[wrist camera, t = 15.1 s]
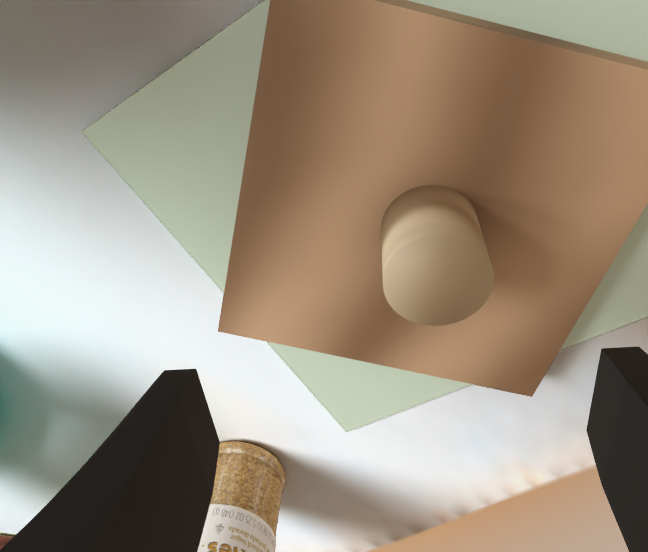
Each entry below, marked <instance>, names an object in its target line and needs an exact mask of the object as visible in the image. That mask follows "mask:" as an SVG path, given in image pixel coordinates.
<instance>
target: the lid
mask: <svg viewBox="0 0 648 552" xmlns="http://www.w3.org/2000/svg"><path fill="white" fill-rule="evenodd" d="M647 204H648V62H647V61H643V60H639V59H635V58H631V57H627V56H623V55H619V54H616V53H612V52H608V51H604V50H600V49H596V48H592V47H588V46H584V45H580V44H576V43H572V42H569V41H565V40H561V39H557V38H553V37H549V36H545V35H541V34H537V33H533V32H529V31H525V30H521V29H518V28H514V27H510V26H506V25H502V24H498V23H494V22H490V21H486V20H482V19H478V18H474V17H471V16H467V15H463V14H459V13H455V12H451V11H447V10H443V9H439V8H435V7H431V6H427V5H423V4H420V3H416V2H412V1H408V0H270V4H269V11H268V17H267V23H266V30H265V36H264V42H263V49H262V55H261V61H260V68H259V74H258V80H257V87H256V93H255V99H254V106H253V112H252V119H251V125H250V131H249V138H248V144H247V150H246V157H245V163H244V169H243V176H242V182H241V188H240V195H239V201H238V207H237V214H236V220H235V226H234V233H233V239H232V245H231V252H230V258H229V264H228V271H227V277H226V283H225V290H224V296H223V302H222V309H221V315H220V321H219V328H218V331H219V332H224V333H229V334H234V335H238V336H243V337H248V338H253V339H258V340H262V341H267V342H272V343H277V344H282V345H286V346H291V347H296V348H301V349H306V350H310V351H315V352H320V353H325V354H330V355H334V356H339V357H344V358H349V359H354V360H358V361H363V362H368V363H373V364H378V365H382V366H387V367H392V368H397V369H402V370H406V371H411V372H416V373H421V374H426V375H430V376H435V377H440V378H445V379H450V380H454V381H459V382H464V383H469V384H474V385H478V386H483V387H488V388H493V389H498V390H502V391H507V392H512V393H517V394H522V395H526V396H531V397H532V396H533V394H534V392H535V391H536V389H537V387H538V386H539V384H540V382H541V381H542V379H543V377H544V376H545V374H546V372H547V371H548V369H549V367H550V366H551V364H552V362H553V361H554V359H555V357H556V356H557V354H558V352H559V351H560V349H561V347H562V346H563V344H564V342H565V341H566V339H567V337H568V336H569V334H570V332H571V331H572V329H573V327H574V326H575V324H576V322H577V321H578V319H579V317H580V316H581V314H582V312H583V311H584V309H585V307H586V306H587V304H588V302H589V301H590V299H591V297H592V296H593V294H594V292H595V291H596V289H597V287H598V286H599V284H600V282H601V281H602V279H603V277H604V276H605V274H606V272H607V271H608V269H609V267H610V266H611V264H612V262H613V261H614V259H615V257H616V256H617V254H618V252H619V251H620V249H621V247H622V246H623V244H624V242H625V241H626V239H627V237H628V236H629V234H630V232H631V231H632V229H633V227H634V226H635V224H636V222H637V221H638V219H639V217H640V216H641V214H642V212H643V211H644V209H645V207H646V206H647Z"/></svg>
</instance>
